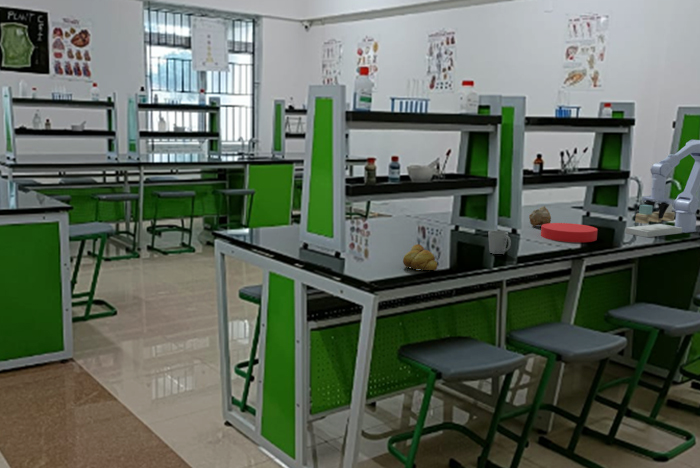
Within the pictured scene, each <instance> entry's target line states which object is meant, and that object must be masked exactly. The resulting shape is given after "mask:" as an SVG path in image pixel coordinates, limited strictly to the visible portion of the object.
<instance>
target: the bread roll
mask: <svg viewBox="0 0 700 468" xmlns="http://www.w3.org/2000/svg"><path fill="white" fill-rule="evenodd" d="M435 259H436V257H435V255H434V254H433V253H432V252H431V251H430V250H428V249H425V248H424V247H423V245H421V244H419V243H418V244H417V243H416V244H415V245H412V247H411V250H410V251H408V252H407V253H405V254H404V256H403V260H402V263H403V265H404V267H406V268H407V267H411V268H410V269H412V268H413V269H412V270H414V269H422V270H421V271H423V270H434V271H435V270H437V269H438V262H437V261H436V260H435Z"/></svg>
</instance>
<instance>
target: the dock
mask: <svg viewBox="0 0 700 468" xmlns="http://www.w3.org/2000/svg"><path fill="white" fill-rule="evenodd" d="M624 229H625V230H624V233H625V234H628V235H634V236H639V237H643V238H644V237H645V238H651V237H659V236H661V237H662V236H668V235H678V234H683V232H682V229H683V228H681V227H675V225H669V224H664V223H663V224H662V223H656V224H646V225H645V224H644V225H639V226H630V227H625V228H624Z"/></svg>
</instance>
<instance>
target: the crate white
mask: <svg viewBox="0 0 700 468" xmlns="http://www.w3.org/2000/svg"><path fill="white" fill-rule="evenodd" d="M672 211H673V203H672V204H670V205H669V207H668V208H667V209H666V211H665V213H671V212H672Z"/></svg>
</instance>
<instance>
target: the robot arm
mask: <svg viewBox="0 0 700 468" xmlns="http://www.w3.org/2000/svg"><path fill="white" fill-rule="evenodd" d="M689 155H690V157H692V158H693V159H694V163H693V166H692V169H691V171H690V174H689V177H688V179H687V181H686V185H685V188H684V190H683V191H682V192H681V193H679V194H677V197H676V199H674V200H673V199H669V198H665V192H666V191H665V190H666V181H667V176H669V174H670V173H671V171H672V170H673V169H674V168H675V167H677V166H678V165H680V163H681V162H680V161H681V160H682V159H684V158H685V157H686V158H687V156H689ZM649 170H650V174H651V179H652V182H651V191H650V192H651V193H650V196H645V195H644V196H641V197H642V198H641V201H644V203H643V205H651V206H653V209H652V212H654V208H655V204H656V203H657V204H658V205H657V206H658V212H659V219H661V218H663V216H664V213H665V211H666V209H667V208H668V207H669V205H670V204H672V209H673V210H674V213H675V219H674V221H675V222H674V226H675V227H681V228H683V229H682V233H685V234H686V233H693V232H697V230H696V226H697V215H696V214H695V213H696V212H697V211H698V207H699V202H700V200H699V198H698V196H697V192H698V189H699V188H700V139H690V140H689V141H687V142H686V143H685V146H683V147H682V148H681V149H680V150H678V151H677V152H676V153H675V154H674V153H673V154H672V153H671V154H670V153H669V154H667V156H666V157H665V158H664V159H662V160H660V162H655V163H653V164H652V166H651V167H650V169H649Z"/></svg>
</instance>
